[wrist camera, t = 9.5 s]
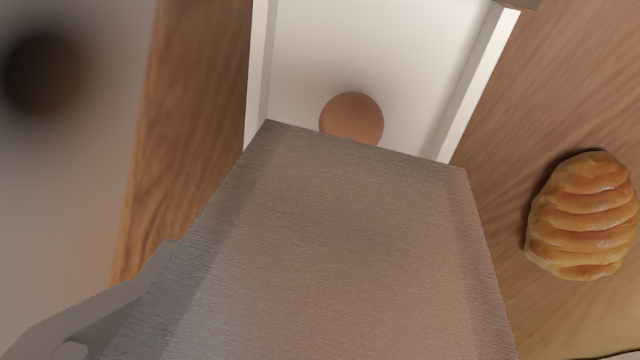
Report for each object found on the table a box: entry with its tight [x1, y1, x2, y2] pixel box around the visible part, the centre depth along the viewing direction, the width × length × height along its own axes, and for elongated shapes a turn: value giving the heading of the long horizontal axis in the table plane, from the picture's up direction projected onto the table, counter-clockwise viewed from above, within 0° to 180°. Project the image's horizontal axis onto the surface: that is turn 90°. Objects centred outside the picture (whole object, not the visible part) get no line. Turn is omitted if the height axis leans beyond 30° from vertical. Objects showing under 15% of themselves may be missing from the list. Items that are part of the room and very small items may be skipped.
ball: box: [319, 92, 384, 146], centre depth 22 cm, size 4×4×4 cm
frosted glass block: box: [98, 118, 520, 360], centre depth 10 cm, size 6×7×9 cm
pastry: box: [524, 151, 639, 281], centre depth 24 cm, size 9×7×4 cm
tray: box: [243, 0, 521, 164], centre depth 23 cm, size 15×13×3 cm
